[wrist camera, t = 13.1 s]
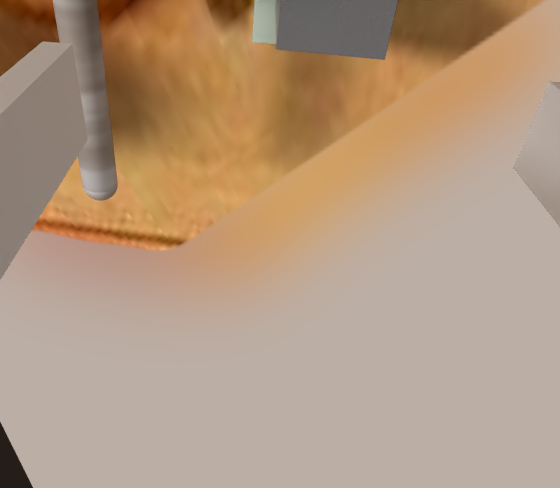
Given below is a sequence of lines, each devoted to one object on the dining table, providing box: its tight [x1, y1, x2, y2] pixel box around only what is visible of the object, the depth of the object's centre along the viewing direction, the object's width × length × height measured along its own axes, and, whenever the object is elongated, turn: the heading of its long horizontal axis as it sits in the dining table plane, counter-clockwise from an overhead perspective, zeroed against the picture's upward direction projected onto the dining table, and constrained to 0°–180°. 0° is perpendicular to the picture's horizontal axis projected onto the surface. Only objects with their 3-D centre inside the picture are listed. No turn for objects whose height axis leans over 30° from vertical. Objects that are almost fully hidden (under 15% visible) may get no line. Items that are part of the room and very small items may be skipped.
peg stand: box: [53, 0, 117, 200], centre depth 29 cm, size 19×7×16 cm, turn 174°
